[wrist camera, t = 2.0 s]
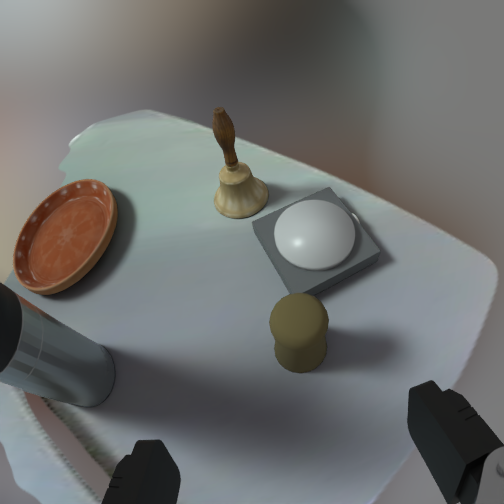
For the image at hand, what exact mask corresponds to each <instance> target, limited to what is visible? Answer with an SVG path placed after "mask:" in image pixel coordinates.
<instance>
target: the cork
mask: <svg viewBox="0 0 504 504" xmlns="http://www.w3.org/2000/svg"><path fill="white" fill-rule="evenodd" d="M328 322H329V318H328V314H327V311H326V309H325V307H324V306H323V304H322V302H320V301H319V300H318V299H317V298H316V297H314V296H312V295H309V294H306V293H294V294H289V295H287V296H285V297H283V298H282V299H281V300H280V301H279V302H278V303H277V304H276V305H275V307H274V308H273V310H272V312H271V316H270V321H269V323H270V329H271V333H272V334H273V336H274V338H275V340H276V341H275V347H274V349H275V356H276V358H277V360H278V362H279V363H280V364H281V365H282V366H283V367H284V368H285V369H287V370H289V371H291V372H296V373H304V372H309V371H311V370H313V369H315V368H317V367H318V366H319V365H320V364H321V363H322V362H323V360H324V357H325V355H326V351H327V344H326V339H325V334H326V332H327V330H328Z"/></svg>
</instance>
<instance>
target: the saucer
mask: <svg viewBox="0 0 504 504" xmlns="http://www.w3.org/2000/svg"><path fill="white" fill-rule="evenodd" d="M117 215H118V210H117V203H116V200H115V197H114V196H113V194H112V192H111V191H110V189H109V188H108V187H107V186H106V185H105V184H104V183H102V182H100V181H97V180H93V179H84V180H79V181H75V182H72V183H69V184H67V185H65V186H63V187H61V188H59V189H58V190H56V191H55V192H53V193H52V194H51V195H49V196H48V197H47V198H46V199H45V200H44V201H42V203H40V204H39V205H38V207H37V208H36V209H35V210H34V211H33V212H32V214H31V215H30V216H29V218H28V219H27V221H26V223H25V224H24V226H23V228H22V230H21V232H20V234H19V236H18V239H17V242H16V245H15V249H14V255H13V267H14V272H15V275H16V277H17V279H18V281H19V282H20V283H21V284H22V285H23V286H24V287H25V288H27V289H28V290H30V291H31V292H34V293H36V294H41V295H49V294H54V293H58V292H60V291H63V290H65V289H67V288H68V287H70V286H72V285H73V284H75V283H76V282H77V281H79V280H80V279H81V278H82V277H84V276H85V275H86V274H87V273H88V272H89V271H90V270H91V269H92V268H93V266H94V265H95V264H96V263H97V261H98V260H99V259H100V257H101V256H102V255H103V253H104V251H105V250H106V248H107V246H108V244H109V242H110V240H111V238H112V236H113V233H114V230H115V227H116V222H117Z"/></svg>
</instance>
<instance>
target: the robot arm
mask: <svg viewBox="0 0 504 504" xmlns="http://www.w3.org/2000/svg"><path fill="white" fill-rule="evenodd" d="M114 378H115V369H114V363H113V360H112V358H111V356H110V354H109V353H108V351H107V350H106V349H105V348H104V347H102V346H101V345H99V344H97V343H96V342H94V341H92V340H90V339H88V338H87V337H85V336H83V335H82V334H80V333H78V332H76V331H75V330H73V329H71V328H70V327H68V326H66V325H65V324H63V323H61V322H60V321H58V320H56V319H55V318H53V317H52V316H50V315H48V314H47V313H45V312H44V311H42V310H40V309H39V308H37V307H36V306H34V305H33V304H31V303H30V302H28V301H27V300H25V299H24V298H22V297H21V296H19V295H18V294H16V293H15V292H13V291H12V290H11V289H9V288H8V287H6V286H5V285H3V284H2V283H0V382H2V383H5V384H8V385H11V386H14V387H17V388H20V389H22V390H23V391H26V392H29V393H33V394H35V395H39V396H42V397H46V398H49V399H53V400H56V401H60V402H64V403H68V404H70V403H71V404H75V405H79V406H84V407H93V406H96V405H98V404H100V403H101V402H103V401H104V400H105V399H106V398H107V396H108V395H109V393H110V392H111V389H112V387H113V384H114ZM407 423H408V429H409V433H410V435H411V438H412V439H413V441H414V443H415V445H416V447H417V448H418V450H419V452H420V454H421V456H422V457H423V459H424V461H425V463H426V465H427V466H428V468H429V470H430V472H431V474H432V476H433V478H434V479H435V481H436V483H437V485H438V487H439V489H440V491H441V492H442V494H443V496H444V498H445V500H446V502H447V504H456V503H458V502H460V503H461V504H504V444H503V443H502V442H501V441H500V440H499V438H498V437H497V436H496V435H495V433H494V432H493V431H492V430H491V429H490V427H489V426H488V425H487V424H486V423H485V421H484V420H483V419H482V418H481V417H480V415H478V414H477V412H476V411H475V410H474V408H473V407H471V405H470V404H469V402H468V401H467V400H466V399H465V398H464V397H463V396H462V395H461V394H458V393H457V392H455V391H453V390H451V389H448V390H445V391H443V392H442V390H441V389H440V388H439V387H438V386H437V384H436V383H435V382H434V381H432V380H430V381H428V382H425V383H423V384H420V385H417V386H415V387H412V388H410V390H409V401H408V418H407ZM112 477H113V479H111V481H110V483H109V488H108V489H107V491H106V494H105V496H104V499H103V501H102V504H176V503H177V498H178V493H179V488H180V482H181V478H180V472H179V469H178V467H177V465H176V463H175V462H174V460H173V459H172V457H171V455H170V454H169V452H168V450H167V449H166V447H165V445H164V444H163V442H162V441H161V440H138V441H137V442H136V444H135V446H134V448H133V451H132V454H131V455H126V456H125V457H124V458H123V459H122V460H121V461H120V462H119V463H118V464H117V466H116V469H115V471H114V473H113V476H112Z"/></svg>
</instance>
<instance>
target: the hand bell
mask: <svg viewBox="0 0 504 504" xmlns="http://www.w3.org/2000/svg"><path fill="white" fill-rule="evenodd" d="M213 132H214V136H215V138H216V140H217V142H218V144H219V145H220V147H221V148H222V150H223V153H224V158H225V163H226V165H225V166H224V167H223V168H222V169H221V171H220V173H219V179H220V187H219V188H218V190H217V191H216V194H215V197H214V204H215V207H216V209H217V210H218V212H219V213H221V214H222V215H224V216H226V217H229V218H236V219H237V218H245V217H249V216H251V215H253V214H255V213H257V212H258V211H260V210H261V209H262V208H263V207H264V206H265V204H266V202H267V200H268V195H269V194H268V189H267V187H266V185H265V184H264V183H263V182H262V181H261V180H259V179H258V178H255V177H253V175H252V173H251V170H250V168H249V167H248V166H247V165H246V164H245V163H242V162H238V159H237V156H236V152H235V149H234V143H235V130H234V126H233V123H232V121H231V119H230V117H229V116H228V115H227V113H226V112H225V110H224V108H223V107H217V108H215V110H214V117H213Z"/></svg>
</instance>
